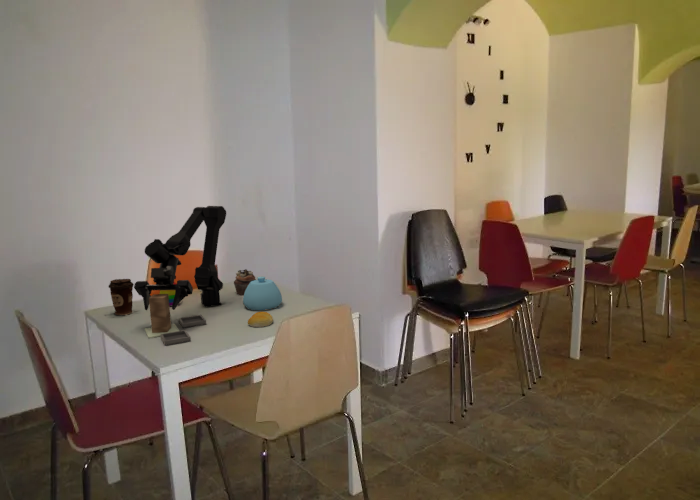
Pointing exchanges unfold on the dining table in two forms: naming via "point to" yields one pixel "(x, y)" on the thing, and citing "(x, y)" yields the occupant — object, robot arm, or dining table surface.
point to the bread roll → (260, 319)
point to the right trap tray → (192, 321)
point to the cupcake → (243, 281)
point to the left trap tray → (175, 337)
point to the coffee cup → (122, 296)
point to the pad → (153, 335)
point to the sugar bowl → (262, 295)
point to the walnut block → (160, 313)
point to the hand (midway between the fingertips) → (159, 309)
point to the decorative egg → (169, 295)
